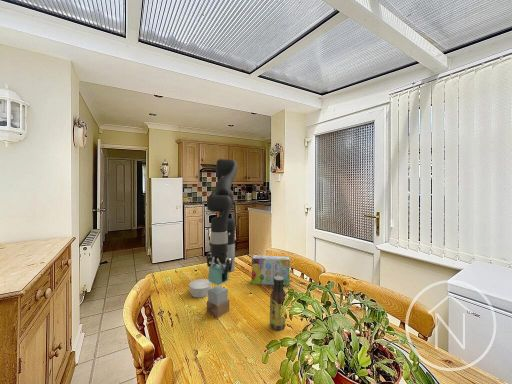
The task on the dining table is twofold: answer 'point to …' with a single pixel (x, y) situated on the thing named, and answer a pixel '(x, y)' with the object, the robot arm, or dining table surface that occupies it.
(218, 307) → the tower base
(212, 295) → the block
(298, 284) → the dining table surface
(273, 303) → the sauce bottle
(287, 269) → the snack box
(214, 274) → the teal cube
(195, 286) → the ramekin
